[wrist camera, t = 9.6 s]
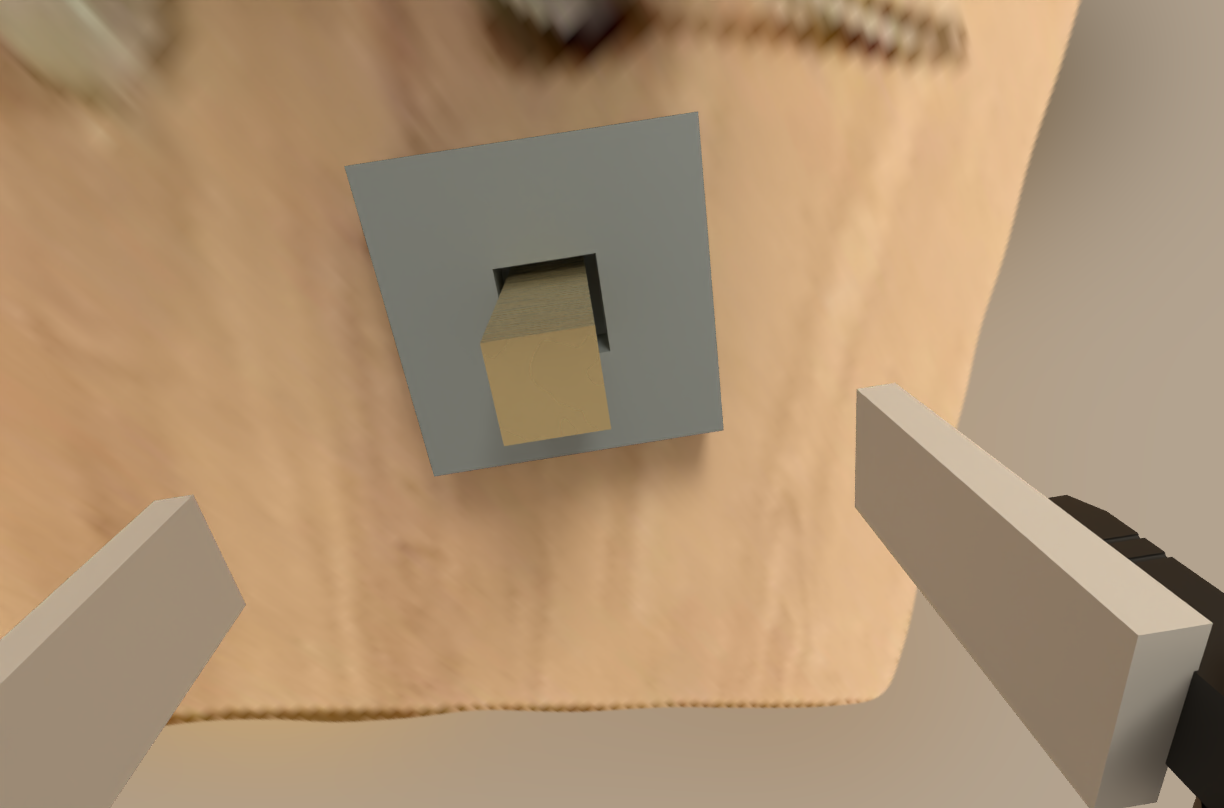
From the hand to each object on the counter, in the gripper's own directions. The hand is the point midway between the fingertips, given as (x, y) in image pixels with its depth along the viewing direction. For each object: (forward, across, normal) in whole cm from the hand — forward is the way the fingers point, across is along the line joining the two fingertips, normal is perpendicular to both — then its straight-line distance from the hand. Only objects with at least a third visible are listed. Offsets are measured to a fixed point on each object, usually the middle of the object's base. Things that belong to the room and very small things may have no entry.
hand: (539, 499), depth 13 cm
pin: (+19, 0, 0) cm, 19 cm away
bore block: (+20, 0, 0) cm, 20 cm away
